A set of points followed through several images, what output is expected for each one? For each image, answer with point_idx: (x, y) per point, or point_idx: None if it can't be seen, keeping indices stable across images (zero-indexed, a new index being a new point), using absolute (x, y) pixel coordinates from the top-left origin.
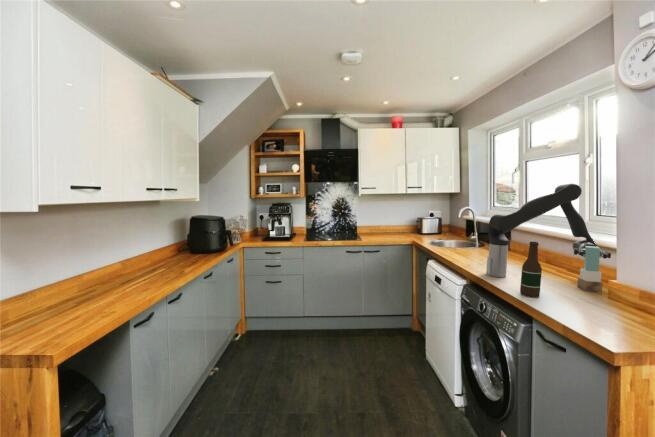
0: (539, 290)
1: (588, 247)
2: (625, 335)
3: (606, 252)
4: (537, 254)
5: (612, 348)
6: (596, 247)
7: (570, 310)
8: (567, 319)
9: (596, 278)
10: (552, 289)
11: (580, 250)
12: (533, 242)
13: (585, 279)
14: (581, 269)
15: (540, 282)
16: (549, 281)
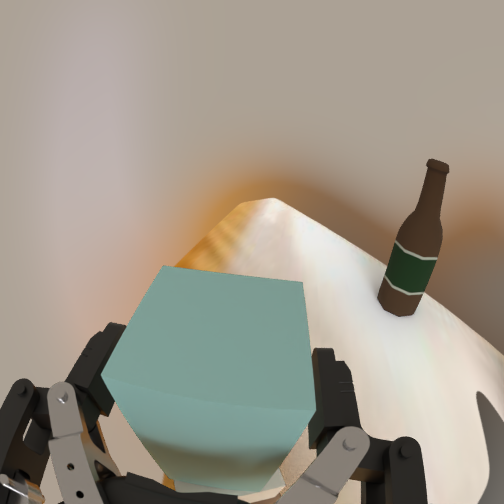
0: (382, 282)
1: (282, 281)
2: (250, 216)
3: (12, 454)
4: (421, 193)
5: (273, 199)
6: (179, 296)
7: (310, 257)
8: (312, 230)
9: None
10: (371, 397)
11: (350, 427)
12: (435, 160)
13: None
14: (279, 474)
15: (388, 264)
16: None
